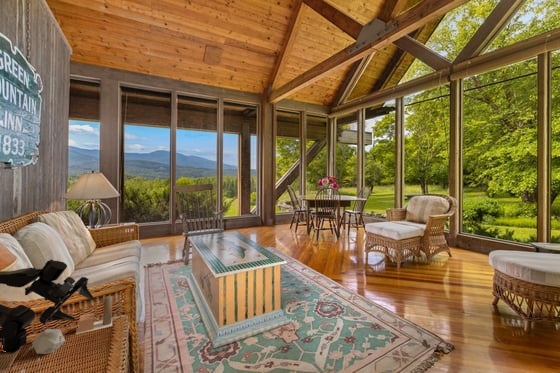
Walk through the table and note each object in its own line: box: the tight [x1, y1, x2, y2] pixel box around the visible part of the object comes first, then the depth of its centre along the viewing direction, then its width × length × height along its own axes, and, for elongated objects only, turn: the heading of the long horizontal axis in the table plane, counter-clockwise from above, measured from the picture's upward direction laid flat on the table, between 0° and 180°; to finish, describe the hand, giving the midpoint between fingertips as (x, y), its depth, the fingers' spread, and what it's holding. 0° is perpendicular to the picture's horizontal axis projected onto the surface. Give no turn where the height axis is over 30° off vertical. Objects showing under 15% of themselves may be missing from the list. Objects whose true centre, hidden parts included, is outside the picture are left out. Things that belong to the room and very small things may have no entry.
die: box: [31, 328, 66, 355], centre depth 95 cm, size 8×9×10 cm
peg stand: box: [75, 295, 114, 335], centre depth 111 cm, size 13×7×13 cm, turn 126°
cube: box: [78, 312, 95, 332], centre depth 110 cm, size 5×5×5 cm
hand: (84, 309), depth 101 cm, fingers open, 9 cm apart
